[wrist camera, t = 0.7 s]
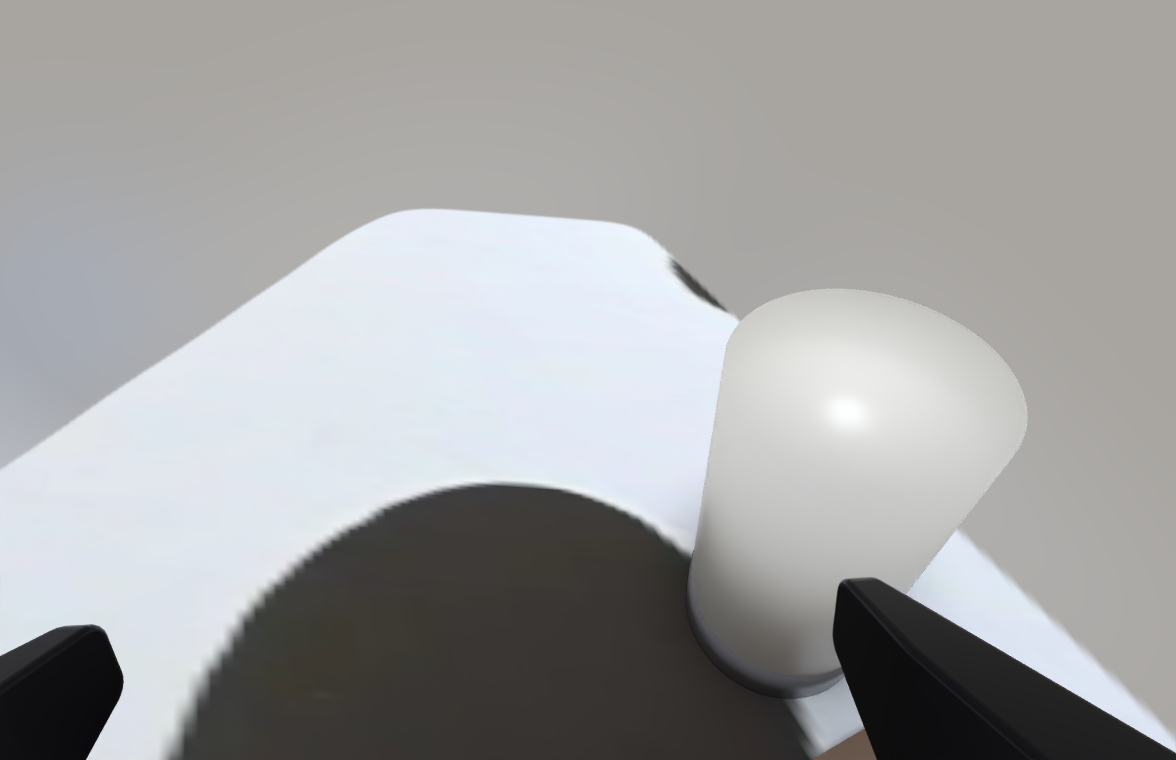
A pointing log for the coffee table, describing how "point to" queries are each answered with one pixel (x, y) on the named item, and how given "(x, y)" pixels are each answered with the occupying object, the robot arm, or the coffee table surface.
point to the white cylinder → (836, 471)
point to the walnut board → (851, 749)
